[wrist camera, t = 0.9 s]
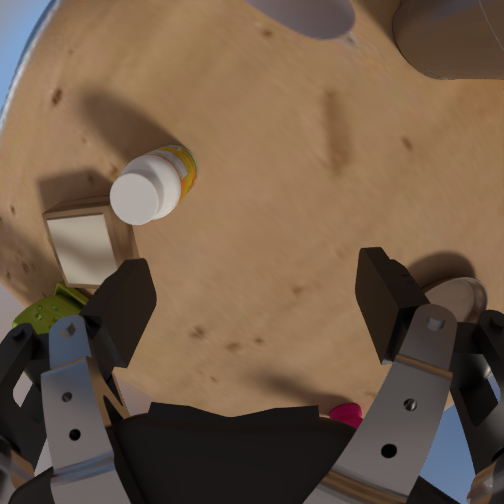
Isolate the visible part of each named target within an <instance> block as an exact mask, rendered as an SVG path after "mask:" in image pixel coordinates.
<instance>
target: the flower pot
mask: <svg viewBox="0 0 504 504" xmlns="http://www.w3.org/2000/svg"><path fill="white" fill-rule="evenodd" d="M88 301H89V299H88V298H87V297H86V296H84V295H83V294H82V293H80V292H79V291H78V290H76V289H75V288H74V287H67V286H66V284H65V283H64V282H58V283H57V284H56V287H55V291H54V296H50V297H47V298H44V299H41V300H39V301H37V302H35V303H34V304H32V305H31V306H29V307H28V308H26V309H25V310H24V311H23V312H21V313H20V314H19V315H18V316H17V317H16V318H15V320H14V321H13V326H12V329H13V328H14V327H15V326H17V325H19V324H22V323H30V324H32V326H33V328H34V329H35V331H36V333H37V334H43V333H49V331H50V329H51V327H52V326H53V325H54V324H55V323H56V322H57V321H58V320H60V319H61V318H63V317H66V316H69V315H78V314H79V313H80V311H81V310H82V309H83V307H84V306H85V305H86V303H87V302H88ZM23 373H24V374H25V372H24V371H23ZM25 375H26V374H25ZM26 376H27V375H26ZM27 377H28V376H27Z"/></svg>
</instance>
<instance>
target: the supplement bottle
mask: <svg viewBox="0 0 504 504" xmlns="http://www.w3.org/2000/svg"><path fill="white" fill-rule="evenodd" d="M197 176H198V166H197V162H196V160H195V158H194V156H193V155H192V154H191V153H190V152H189V151H188V150H187V149H186V148H184V147H182V146H179V145H166V146H162V147H160V148H157V149H155V150H153V151H150V152H148V153H146V154H144V155H141V156H139V157H137V158H135V159H134V160H132V161H131V162H129V163H128V164H127V165H126V167H125V168H124V169H123V171H122V173H121V175H120V177H118V178H117V179H116V180H115V182H114V183H113V185H112V187H111V191H110V202H111V206H112V208H113V210H114V212H115V213H116V215H117V216H118V217H119V218H120V219H121V220H123V221H124V222H126V223H128V224H132V225H142V224H145V223H147V222H149V221H150V220H154V219H159V218H162V217H164V216H166V215H167V214H168V213H170V212H171V211H172V210H173V209H174V208H175V207H176V205H177V204H178V203H179V202H180V201H181V200H182V199H183V197H184V196H185V195H186V194H187V193H188V192H189V191H190V189H191V188H192V187H193V185H194V184H195V182H196V179H197Z"/></svg>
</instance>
